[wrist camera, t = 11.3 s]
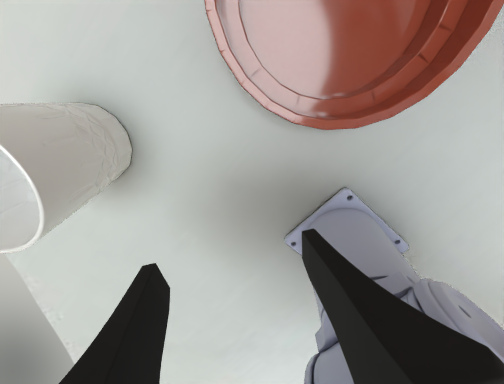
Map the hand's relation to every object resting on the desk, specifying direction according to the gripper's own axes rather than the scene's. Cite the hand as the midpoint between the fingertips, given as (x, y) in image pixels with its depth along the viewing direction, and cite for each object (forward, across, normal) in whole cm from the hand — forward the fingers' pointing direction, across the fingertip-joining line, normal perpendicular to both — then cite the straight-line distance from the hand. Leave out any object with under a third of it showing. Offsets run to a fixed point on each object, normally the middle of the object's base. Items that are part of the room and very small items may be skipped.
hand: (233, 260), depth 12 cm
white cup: (+14, +10, -3) cm, 18 cm away
